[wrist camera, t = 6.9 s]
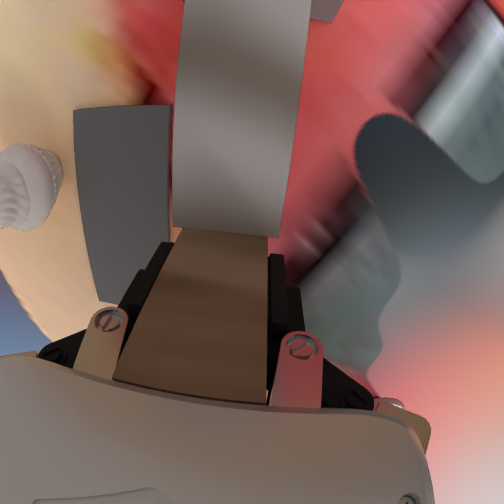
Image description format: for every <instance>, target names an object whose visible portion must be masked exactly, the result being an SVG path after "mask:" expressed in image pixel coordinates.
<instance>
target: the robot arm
mask: <svg viewBox="0 0 504 504" xmlns="http://www.w3.org/2000/svg"><path fill="white" fill-rule="evenodd" d="M174 244H175V243H172V242H163V241H162V242H161V243H160V245H159V246H158V248H157V250H156V251H155V253H154V255H153V257H152V258H151V260H150V262H149V263H148V265H147V267H146V269H140V270H139V271H138V272H137V274H136V275H135V277H134V279H133V281H132V282H131V284H130V286H129V287H128V289H127V291H126V293H125V294H124V296H123V298H122V300H121V301H120V303H119V305H118V307H106V308H102V309H100V310H98V311H97V312H96V313H95V314H94V315H93V316H92V318H91V320H90V323H89V325H88V328H87V329H85V330H83V331H80V332H78V333H75V334H73V335H70V336H68V337H65V338H63V339H60V340H58V341H55V342H53V343H50V344H48V345H46V346H45V347H44V348H43V349H42V350H41V351H40V353H37V351H30V352H24V353H17V354H11V355H4V356H0V504H435V500H434V493H433V486H432V481H431V476H430V472H429V468H428V463H427V460H426V457H425V454H426V450H427V447H428V443H429V439H430V435H431V427H430V424H429V422H428V421H427V420H426V419H425V418H424V417H422V416H420V415H417V414H415V413H412V412H410V411H407V410H405V408H404V404H403V403H402V402H401V401H399V400H397V399H393V398H374V399H373V397H372V395H371V393H370V392H369V391H368V390H367V389H366V388H364V387H363V386H361V385H360V384H359V383H357V382H356V381H355V380H353V379H352V378H350V377H349V376H348V375H346V374H345V373H344V372H342V371H341V370H339V369H338V368H337V367H335V366H334V365H333V364H331V363H330V362H329V361H327V360H326V359H325V358H323V346H322V343H321V342H320V340H319V339H318V338H317V337H316V336H314V335H312V334H310V333H307V332H305V326H304V318H303V310H302V302H301V294H300V289H299V287H289V286H286V277H285V265H284V255H281V254H272V253H270V257H268V280H267V380H266V389H267V390H268V392H267V397H266V405H265V406H264V405H252V404H241V403H232V402H223V401H215V400H208V399H201V398H194V397H188V396H182V395H176V394H171V393H166V392H161V391H156V390H151V389H146V388H142V387H137V386H133V385H129V384H125V383H121V382H117V381H113V379H112V375H113V373H114V371H115V368H116V366H117V363H118V361H119V359H120V356H121V354H122V352H123V349H124V347H125V345H126V343H127V340H128V338H129V336H130V334H131V331H132V329H133V327H134V325H135V323H136V320H137V318H138V316H139V314H140V312H141V310H142V308H143V305H144V303H145V301H146V299H147V297H148V295H149V293H150V291H151V289H152V287H153V285H154V283H155V281H156V279H157V277H158V275H159V273H160V271H161V269H162V267H163V265H164V263H165V261H166V259H167V257H168V255H169V253H170V251H171V249H172V248H173V246H174Z"/></svg>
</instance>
